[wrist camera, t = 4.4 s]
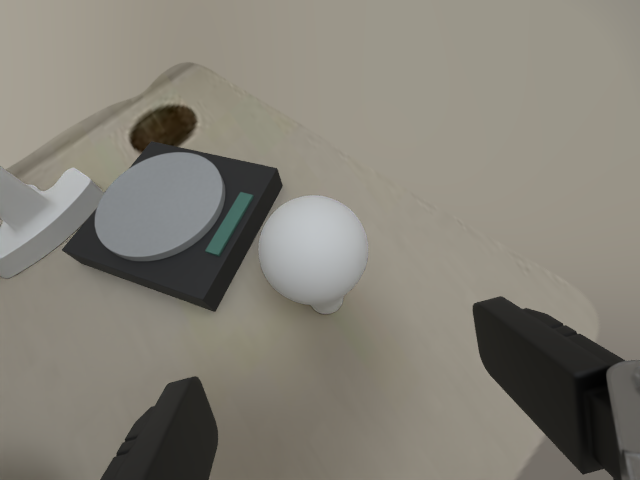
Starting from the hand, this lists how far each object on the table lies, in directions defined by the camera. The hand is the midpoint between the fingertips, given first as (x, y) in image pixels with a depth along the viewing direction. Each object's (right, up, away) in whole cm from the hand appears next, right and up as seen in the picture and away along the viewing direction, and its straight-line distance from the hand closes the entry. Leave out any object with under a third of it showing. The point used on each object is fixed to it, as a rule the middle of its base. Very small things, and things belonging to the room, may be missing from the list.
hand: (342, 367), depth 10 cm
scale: (-13, +5, +22) cm, 26 cm away
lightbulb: (0, -1, +17) cm, 17 cm away
